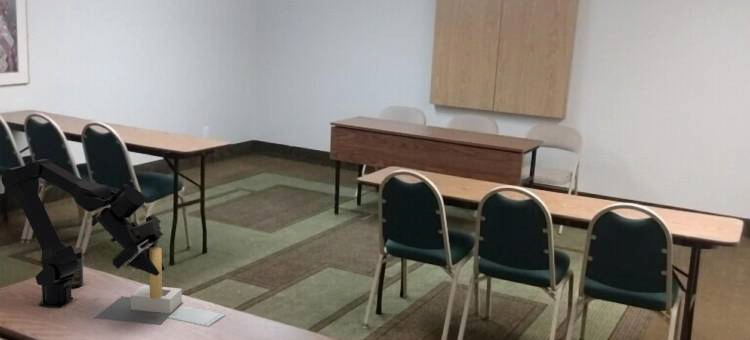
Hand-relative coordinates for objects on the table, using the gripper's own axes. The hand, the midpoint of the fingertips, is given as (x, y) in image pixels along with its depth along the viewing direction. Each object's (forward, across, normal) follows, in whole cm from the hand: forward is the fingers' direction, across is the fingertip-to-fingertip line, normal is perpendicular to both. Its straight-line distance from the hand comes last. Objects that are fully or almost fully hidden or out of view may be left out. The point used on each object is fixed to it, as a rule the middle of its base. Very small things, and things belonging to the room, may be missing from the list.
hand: (160, 272), depth 190 cm
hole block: (+6, +8, +12) cm, 15 cm away
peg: (+4, 0, +6) cm, 7 cm away
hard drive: (+16, +3, +4) cm, 17 cm away
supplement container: (-15, +17, +34) cm, 41 cm away
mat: (+4, +4, +14) cm, 16 cm away
